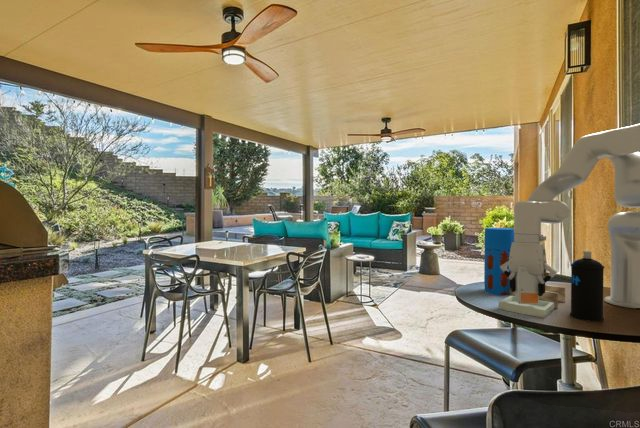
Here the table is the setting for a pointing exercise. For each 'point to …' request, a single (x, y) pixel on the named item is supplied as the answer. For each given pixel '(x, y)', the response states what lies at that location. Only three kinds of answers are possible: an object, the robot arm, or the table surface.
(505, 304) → the tray
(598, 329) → the table surface
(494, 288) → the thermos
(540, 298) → the bay
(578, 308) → the aerosol can
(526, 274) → the skincare box
